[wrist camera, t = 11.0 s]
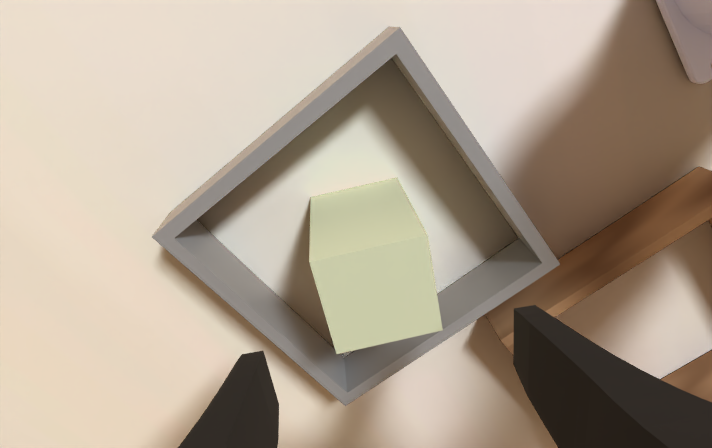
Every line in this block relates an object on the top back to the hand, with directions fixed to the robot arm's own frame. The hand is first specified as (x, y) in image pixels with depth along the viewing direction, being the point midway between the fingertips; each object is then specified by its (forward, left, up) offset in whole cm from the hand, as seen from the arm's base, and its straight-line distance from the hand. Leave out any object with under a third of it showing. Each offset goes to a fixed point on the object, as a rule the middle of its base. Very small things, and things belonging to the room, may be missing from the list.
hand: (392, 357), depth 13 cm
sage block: (0, 0, -9) cm, 9 cm away
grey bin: (0, 0, -9) cm, 9 cm away
